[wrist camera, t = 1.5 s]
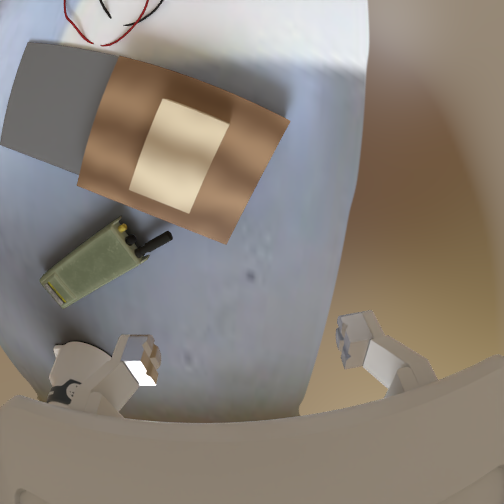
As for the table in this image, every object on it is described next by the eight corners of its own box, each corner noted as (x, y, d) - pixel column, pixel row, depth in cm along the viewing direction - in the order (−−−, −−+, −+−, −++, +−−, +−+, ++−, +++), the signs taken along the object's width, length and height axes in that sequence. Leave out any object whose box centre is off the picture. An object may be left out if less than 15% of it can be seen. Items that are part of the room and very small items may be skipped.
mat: (86, 176, 31) (84, 177, 31) (1, 144, 26) (-1, 144, 26) (126, 58, 24) (125, 58, 24) (29, 42, 19) (27, 42, 19)
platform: (226, 231, 36) (226, 244, 33) (89, 177, 31) (76, 185, 28) (284, 119, 30) (290, 121, 27) (130, 59, 24) (119, 55, 21)
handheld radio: (69, 300, 41) (178, 236, 36) (61, 312, 38) (174, 248, 33) (45, 271, 38) (150, 195, 33) (36, 283, 35) (143, 204, 30)
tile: (192, 205, 31) (189, 213, 29) (135, 183, 29) (128, 189, 27) (229, 123, 26) (229, 124, 24) (168, 99, 25) (162, 98, 22)
